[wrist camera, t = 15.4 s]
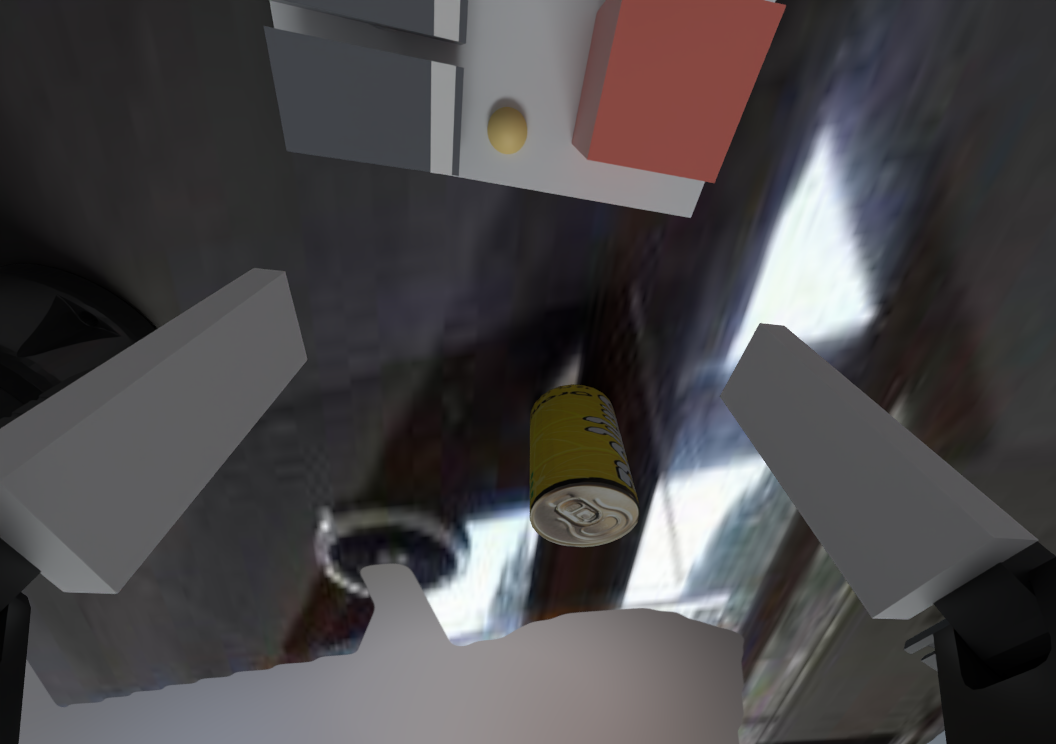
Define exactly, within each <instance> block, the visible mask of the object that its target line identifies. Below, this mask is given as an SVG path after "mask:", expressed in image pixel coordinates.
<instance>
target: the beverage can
mask: <svg viewBox="0 0 1056 744" xmlns="http://www.w3.org/2000/svg"><path fill="white" fill-rule="evenodd" d="M639 517H640V506H639V503H638V499H637V495H636V491H635V488H634V484H633V480H632V476H631V473H630V469H629V465H628V461H627V458H626V454H625V450H624V446H623V443H622V439H621V435H620V432H619V428H618V424H617V420H616V417H615V413H614V409H613V406H612V404H611V402H610V400H609V399H608V398H607V397H606V396H605V395H604V394H603V393H602V392H600V391H598V390H596V389H594V388H591V387H588V386H584V385H566V386H560V387H557V388H555V389H552V390H550V391H548V392H547V393H545V394H544V395H542V396H541V397H540V398H539V399H538V400H537V401H536V402H535V403H534V406H533V408H532V410H531V416H530V521H531V524H532V527H533V528H534V529H535V531H536V532H537V533H538V534H539V535H540V536H542V537H544V538H545V539H547V540H549V541H551V542H554V543H557V544H560V545H565V546H570V547H589V546H598V545H602V544H606V543H610V542H612V541H614V540H617V539H619V538H621V537H623V536H624V535H625V534H627V533H628V532H630V531H631V530H632V529H633V527H634V526H635V525H636V524H637V522H638V519H639Z"/></svg>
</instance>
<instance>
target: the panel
mask: <svg viewBox="0 0 1056 744" xmlns="http://www.w3.org/2000/svg"><path fill="white" fill-rule="evenodd" d="M605 1H606V0H468V15H467V35H466V44H463V45H458V44H454V43H450V42H445V41H441V40H437V39H432V38H428V37H424V36H420V35H415V34H411V33H407V32H402V31H398V30H394V29H390V28H385V27H381V26H377V25H373V24H368V23H364V22H360V21H355V20H351V19H347V18H343V17H338V16H334V15H330V14H326V13H321V12H317V11H313V10H308V9H304V8H300V7H296V6H291V5H287V4H283V3H278V2H274V1H270V6H271V12H272V18H273V23H274V28H276V29H280V30H285V31H290V32H295V33H300V34H304V35H309V36H314V37H319V38H324V39H328V40H333V41H338V42H343V43H348V44H352V45H357V46H362V47H367V48H372V49H376V50H381V51H386V52H391V53H396V54H400V55H405V56H410V57H415V58H420V59H424V60H429V61H435V62H439V63H444V64H449V65H454V66H458V67H463V68H464V77H463V98H462V119H461V140H460V162H459V176H456V177H462V178H467V179H473V180H479V181H484V182H490V183H496V184H501V185H507V186H513V187H519V188H524V189H530V190H536V191H541V192H547V193H553V194H558V195H564V196H570V197H575V198H581V199H587V200H592V201H598V202H604V203H610V204H615V205H621V206H627V207H632V208H638V209H644V210H649V211H655V212H661V213H666V214H672V215H678V216H683V217H689V218H691V216H692V213H693V211H694V208H695V206H696V203H697V200H698V198H699V195H700V193H701V190H702V188H703V185H704V183H705V181H700V180H695V179H689V178H684V177H678V176H673V175H667V174H662V173H657V172H651V171H646V170H640V169H635V168H629V167H624V166H619V165H613V164H608V163H602V162H597V161H591V160H587V159H586V158H585V157H584V156H583V155H582V154H581V153H580V152H579V151H578V150H577V149H576V148H575V147H574V146H573V145H572V138H573V133H574V128H575V123H576V118H577V112H578V107H579V102H580V97H581V92H582V87H583V81H584V76H585V71H586V66H587V61H588V56H589V50H590V45H591V40H592V35H593V30H594V25H595V19H596V14H597V11H598V10H599V9H600V7H601V6H602V5H603V3H604V2H605ZM765 1H770V2H774V3H775V1H776V0H765ZM450 176H455V175H450Z"/></svg>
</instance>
